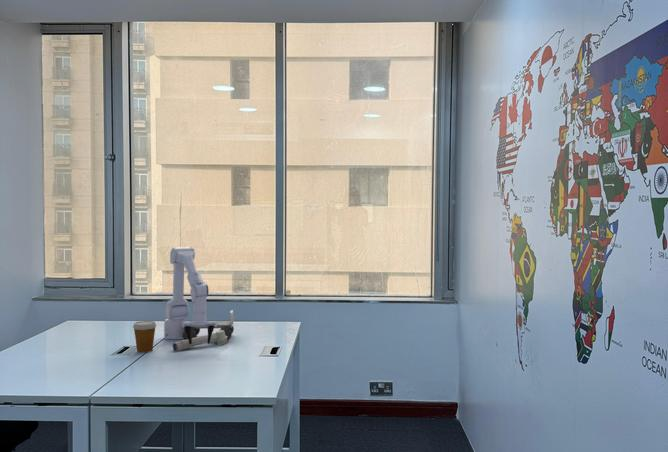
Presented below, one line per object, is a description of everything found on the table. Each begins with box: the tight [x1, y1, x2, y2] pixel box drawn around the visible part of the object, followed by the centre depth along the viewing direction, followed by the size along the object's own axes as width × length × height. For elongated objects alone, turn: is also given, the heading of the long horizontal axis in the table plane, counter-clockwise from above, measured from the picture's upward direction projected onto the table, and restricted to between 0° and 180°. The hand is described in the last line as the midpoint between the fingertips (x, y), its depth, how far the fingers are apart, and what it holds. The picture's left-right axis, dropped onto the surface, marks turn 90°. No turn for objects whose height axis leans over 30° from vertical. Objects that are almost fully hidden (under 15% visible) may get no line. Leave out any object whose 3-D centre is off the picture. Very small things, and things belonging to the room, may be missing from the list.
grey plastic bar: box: [172, 329, 228, 352], centre depth 251 cm, size 5×7×25 cm
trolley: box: [182, 310, 235, 341], centre depth 266 cm, size 22×13×12 cm, turn 95°
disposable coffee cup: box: [132, 320, 157, 353], centre depth 242 cm, size 10×10×12 cm
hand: (199, 343), depth 245 cm, fingers open, 7 cm apart
